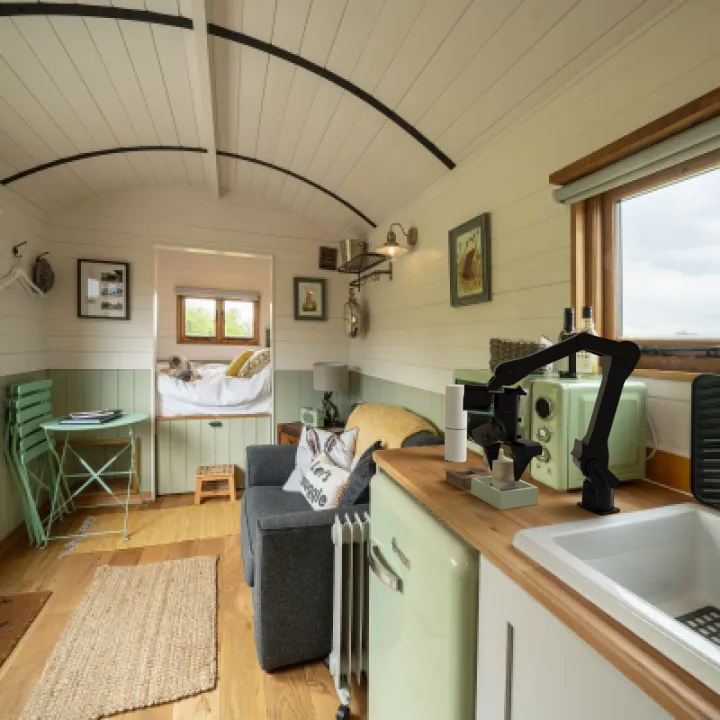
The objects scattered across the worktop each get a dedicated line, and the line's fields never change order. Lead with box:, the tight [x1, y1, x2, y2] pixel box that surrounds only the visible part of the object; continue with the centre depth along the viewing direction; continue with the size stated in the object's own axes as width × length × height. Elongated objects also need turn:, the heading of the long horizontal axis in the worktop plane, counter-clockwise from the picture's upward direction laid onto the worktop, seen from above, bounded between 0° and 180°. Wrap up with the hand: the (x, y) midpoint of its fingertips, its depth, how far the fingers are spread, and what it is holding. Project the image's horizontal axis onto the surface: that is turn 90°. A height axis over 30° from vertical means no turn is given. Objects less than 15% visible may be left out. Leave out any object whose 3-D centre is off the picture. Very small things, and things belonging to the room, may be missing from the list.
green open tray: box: [470, 476, 539, 511], centre depth 96 cm, size 11×11×4 cm
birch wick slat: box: [492, 458, 516, 490], centre depth 96 cm, size 5×2×9 cm, turn 109°
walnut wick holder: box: [445, 465, 492, 491], centre depth 108 cm, size 17×8×3 cm, turn 110°
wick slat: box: [482, 447, 504, 473], centre depth 110 cm, size 5×2×9 cm, turn 110°
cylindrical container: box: [443, 384, 468, 463], centre depth 131 cm, size 7×7×25 cm
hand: (504, 475), depth 96 cm, fingers open, 8 cm apart
